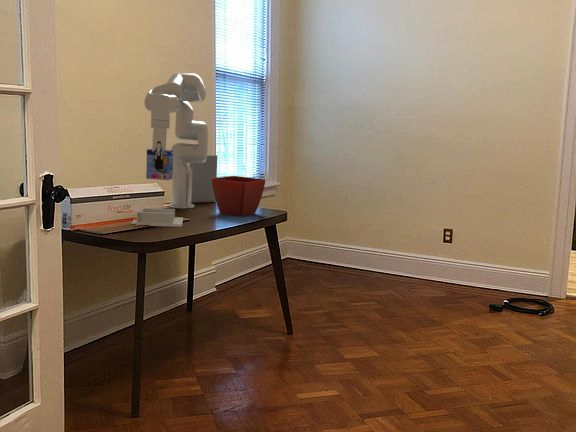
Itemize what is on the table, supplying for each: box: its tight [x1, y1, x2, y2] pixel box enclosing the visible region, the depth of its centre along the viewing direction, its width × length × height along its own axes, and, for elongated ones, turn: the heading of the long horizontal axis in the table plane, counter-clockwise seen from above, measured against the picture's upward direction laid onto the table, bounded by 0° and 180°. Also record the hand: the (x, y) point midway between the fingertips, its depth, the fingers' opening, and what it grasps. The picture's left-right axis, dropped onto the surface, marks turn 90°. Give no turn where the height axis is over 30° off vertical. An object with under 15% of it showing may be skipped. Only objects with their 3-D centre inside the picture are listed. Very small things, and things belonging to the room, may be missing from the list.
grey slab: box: [188, 154, 218, 204], centre depth 307 cm, size 14×6×25 cm, turn 123°
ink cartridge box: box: [145, 148, 173, 181], centre depth 240 cm, size 10×6×14 cm, turn 84°
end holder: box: [131, 207, 184, 228], centre depth 244 cm, size 16×20×5 cm
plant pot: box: [212, 175, 266, 217], centre depth 276 cm, size 19×19×17 cm
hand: (159, 167), depth 240 cm, fingers closed on ink cartridge box, 6 cm apart
